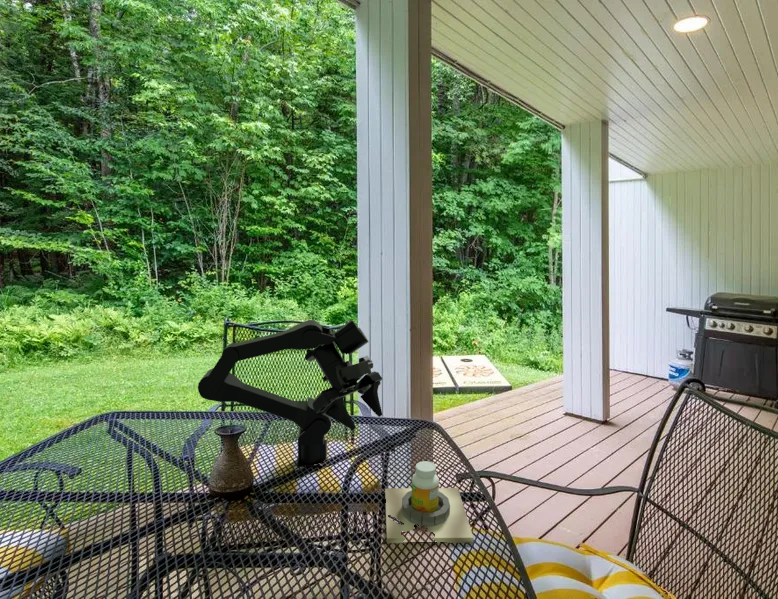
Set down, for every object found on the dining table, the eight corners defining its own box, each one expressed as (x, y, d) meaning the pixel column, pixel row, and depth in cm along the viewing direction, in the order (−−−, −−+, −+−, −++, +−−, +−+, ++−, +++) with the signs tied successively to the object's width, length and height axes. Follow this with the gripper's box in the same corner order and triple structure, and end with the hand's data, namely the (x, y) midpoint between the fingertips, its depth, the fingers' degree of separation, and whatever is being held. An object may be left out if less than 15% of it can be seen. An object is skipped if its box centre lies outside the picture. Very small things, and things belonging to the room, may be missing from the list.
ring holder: (386, 543, 83) (387, 528, 82) (385, 492, 98) (385, 480, 98) (473, 542, 83) (473, 527, 83) (457, 492, 99) (458, 479, 98)
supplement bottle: (405, 509, 91) (406, 465, 89) (424, 499, 94) (425, 456, 93) (424, 522, 87) (425, 476, 85) (443, 511, 90) (445, 467, 89)
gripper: (320, 355, 95) (359, 418, 90) (376, 339, 110) (412, 392, 105) (297, 383, 102) (332, 443, 97) (353, 364, 116) (386, 415, 111)
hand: (368, 422), depth 102 cm, fingers open, 9 cm apart
